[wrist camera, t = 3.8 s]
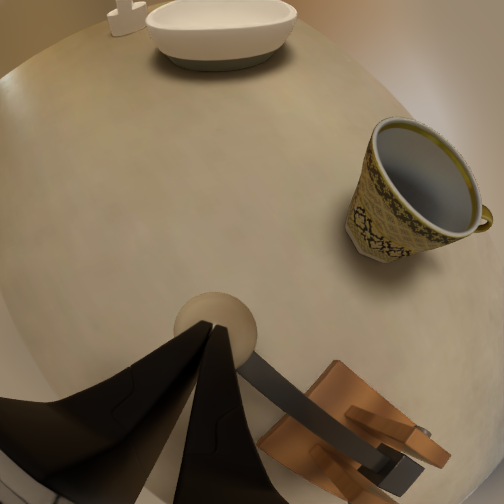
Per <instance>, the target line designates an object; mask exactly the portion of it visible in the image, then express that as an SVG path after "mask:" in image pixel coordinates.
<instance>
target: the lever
mask: <svg viewBox="0 0 504 504" xmlns="http://www.w3.org/2000/svg"><path fill="white" fill-rule="evenodd" d="M200 320H205V321H208V322H211V323H213V328H214V326H215V325H216V324H218V325H222V326H225V327H227V328H228V333H229V338H230V344H231V349H232V354H233V359H234V365H235V370H236V372H237V373H238V374H240V375H241V376H242V377H243V378H244V379H245V380H246V381H248V382H249V383H250V384H251V385H252V386H253V387H255V388H256V389H257V390H258V391H259V392H261V393H262V394H263V395H264V396H266V397H267V398H268V399H269V400H270V401H272V402H273V403H274V404H275V405H277V406H278V407H279V408H281V409H282V410H283V411H284V412H286V413H287V414H288V415H290V416H291V417H292V418H294V419H295V420H296V421H298V422H299V423H300V424H302V425H303V426H304V427H306V428H307V429H308V430H310V431H311V432H313V433H314V434H315V435H317V436H318V437H320V438H321V439H323V440H324V441H326V442H327V443H328V444H330V445H331V446H333V447H334V448H336V449H337V450H339V451H340V452H342V453H344V454H345V455H347V456H348V457H350V458H351V459H353V460H355V461H356V462H358V463H360V464H361V466H360V467H359V468H358V469H357V471H358V472H359V473H361V474H362V475H363V476H364V477H366V478H367V479H368V480H369V481H371V482H372V483H373V484H375V485H376V486H377V487H379V488H381V489H383V490H385V491H387V492H389V493H392V494H394V495H396V496H398V497H401V496H402V495H403V494H404V493H405V492H406V491H407V490H408V488H409V487H410V486H411V485H412V484H413V483H414V481H415V480H416V479H417V478H418V477H419V475H420V474H421V473H422V472H423V471H424V469H425V468H424V467H422V466H421V465H419V464H418V463H416V462H415V461H413V460H412V459H410V458H409V457H408V456H406V455H405V454H403V453H401V452H399V451H397V450H395V449H393V448H391V447H389V446H387V445H386V444H384V443H380V445H379V446H378V447H377V448H374V447H373V446H372V445H370V444H369V443H367V442H366V441H365V440H363V439H362V438H360V437H359V436H358V435H356V434H355V433H353V432H352V431H351V430H349V429H348V428H347V427H345V426H344V425H343V424H341V423H340V422H339V421H337V420H336V419H335V418H333V417H332V416H331V415H330V414H328V413H327V412H326V411H324V410H323V409H322V408H321V407H319V406H318V405H317V404H316V403H314V402H313V401H312V400H311V399H309V398H308V397H307V396H306V395H304V394H303V393H302V392H301V391H300V390H298V389H297V388H296V387H295V386H294V385H292V384H291V383H290V382H289V381H288V380H287V379H285V378H284V377H283V376H282V375H281V374H280V373H278V372H277V371H276V370H275V369H274V368H273V367H271V366H270V365H269V364H268V363H267V362H266V361H265V360H264V359H262V358H261V357H260V356H259V355H258V354H257V353H256V352H255V351H254V349H255V346H256V342H257V326H256V322H255V319H254V317H253V315H252V313H251V312H250V310H249V309H248V307H247V306H246V305H245V304H244V303H243V302H241V301H240V300H239V299H237V298H235V297H233V296H231V295H228V294H225V293H220V292H209V293H204V294H201V295H198V296H196V297H194V298H192V299H191V300H189V301H188V302H187V303H186V304H185V305H184V306H183V307H182V309H181V310H180V312H179V313H178V315H177V317H176V320H175V324H174V338H175V337H176V336H178V335H179V334H181V333H182V332H184V331H185V330H187V329H188V328H190V327H191V326H193V325H194V324H196V323H197V322H199V321H200ZM212 331H213V329H212Z"/></svg>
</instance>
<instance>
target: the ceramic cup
mask: <svg viewBox="0 0 504 504" xmlns="http://www.w3.org/2000/svg"><path fill="white" fill-rule="evenodd" d="M481 218H482V219H485V220H487V223H485V224H483V225H480V226H479V223H480V221H481ZM492 223H493V216H492V214H491V212H490V210H489V209H488V208H487V207H486V206H484V205H482V201H481V195H480V191H479V188H478V185H477V183H476V180H475V177H474V175H473V173H472V171H471V170H470V168H469V166H468V165H467V163H466V161H465V160H464V159H463V157H462V156H461V155H460V153H459V152H458V151H457V150H456V149H455V148H454V147H453V146H452V144H450V143H449V142H448V141H447V140H446V139H445V138H444V137H443V136H441V135H440V134H439V133H438V132H436V131H435V130H433V129H432V128H430V127H428V126H426V125H425V124H422V123H420V122H418V121H415V120H412V119H409V118H404V117H390V118H387V119H384V120H382V121H381V122H379V123H378V124H377V125H376V127H375V128H374V130H373V133H372V136H371V138H370V141H369V144H368V147H367V151H366V154H365V157H364V161H363V166H362V172H361V176H360V179H359V182H358V185H357V188H356V190H355V193H354V196H353V198H352V201H351V204H350V207H349V212H348V216H347V220H346V225H345V229H346V231H347V233H348V234H349V236H350V238H351V240H352V241H353V243H354V245H355V247H356V249H357V250H358V252H359V253H360V254H363V255H365V256H367V257H370V258H372V259H375V260H377V261H379V262H382V263H388V262H392V261H394V260H397V259H400V258H404V257H407V256H410V255H413V254H416V253H418V252H422V251H427V250H432V249H435V248H438V247H441V246H444V245H447V244H450V243H453V242H455V241H458V240H460V239H462V238H465V237H467V236H469V235H471V234H472V233H479V232H484V231H486V230H488V229H489V228H490V227H491V226H492Z"/></svg>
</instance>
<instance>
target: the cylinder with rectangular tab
mask: <svg viewBox="0 0 504 504" xmlns="http://www.w3.org/2000/svg"><path fill="white" fill-rule="evenodd" d="M116 4H117V9H115V10H113V11H111V12H110V13H108V14H107V18H108V22H109V26H110V29H111V33H112V36H116V37H117V36H123V35H127V34H130V33H133V32H136V31H138V30H141V29H143V28H144V27H146V26H147V25H146V22H145V20H146V18H147V16H148V13H147V6H146V3H145V2H136V3H133V0H116Z"/></svg>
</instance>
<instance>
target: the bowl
mask: <svg viewBox="0 0 504 504" xmlns="http://www.w3.org/2000/svg"><path fill="white" fill-rule="evenodd" d="M296 17H297V12H296V10H295V9H294V8H293V7H292V6H290V5H289V4H287V3H285V2H282V1H280V0H176V1H173V2H171V3H168V4H165V5H163V6H161V7H159V8H157V9H155V10H154V11H152V12H151V13H150V14H149V15H148V16H147V18H146V20H145V22H146V25H147V29H148V32H149V35H150V38H151V39H152V41H153V42H154V43H155V45H156V46H157V47H158V49H159V50H160V51H161V52H162V53H164V54H165V55H166V56H167V57H168V58H169V59H170V60H171V61H172V62H173V63H174V64H176V65H178V66H180V67H183V68H186V69H191V70H197V71H229V70H237V69H244V68H248V67H252V66H255V65H258V64H261V63H263V62H265V61H266V60H268V59H269V58H270V57H271V56H272V55H273V54H274V53H275V52H276V51H277V49H278V48H279V47H281V46H282V45H283V44H284V42H285V41H286V39H287V38H288V36H289V35H290V33H291V32H292V30H293V27H294V23H295V20H296Z"/></svg>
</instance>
